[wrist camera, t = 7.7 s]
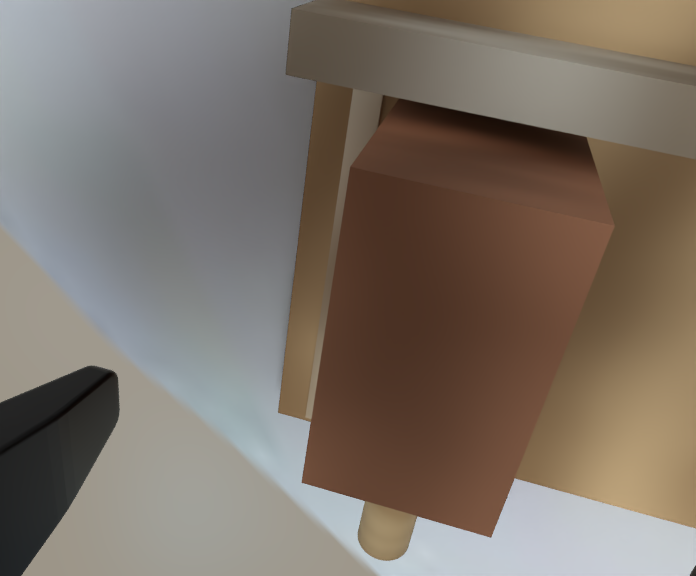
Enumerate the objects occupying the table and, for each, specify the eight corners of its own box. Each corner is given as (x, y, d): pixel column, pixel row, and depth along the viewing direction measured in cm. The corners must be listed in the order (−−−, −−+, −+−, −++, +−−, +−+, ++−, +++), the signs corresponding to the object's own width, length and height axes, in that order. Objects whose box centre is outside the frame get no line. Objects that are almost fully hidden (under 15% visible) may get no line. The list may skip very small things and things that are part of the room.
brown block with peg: (583, 127, 14) (614, 226, 9) (464, 477, 20) (446, 648, 15) (404, 90, 15) (349, 166, 10) (338, 442, 20) (284, 597, 15)
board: (1155, 63, 12) (1376, 110, 9) (799, 527, 19) (854, 645, 16) (348, -77, 14) (299, -79, 11) (289, 389, 21) (249, 469, 18)
